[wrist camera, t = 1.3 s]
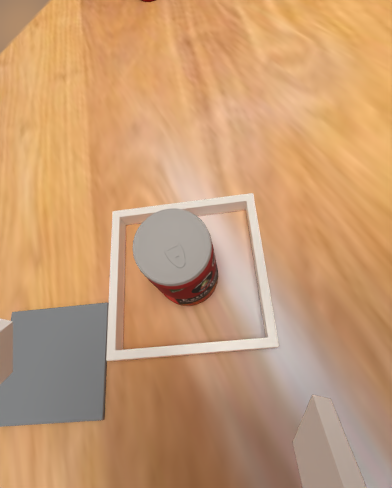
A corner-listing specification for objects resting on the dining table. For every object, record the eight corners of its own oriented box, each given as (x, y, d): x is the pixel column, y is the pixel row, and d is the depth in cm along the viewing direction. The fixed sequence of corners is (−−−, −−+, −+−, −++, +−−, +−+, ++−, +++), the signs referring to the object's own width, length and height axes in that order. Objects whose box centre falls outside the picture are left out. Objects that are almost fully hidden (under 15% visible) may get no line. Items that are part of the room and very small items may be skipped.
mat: (109, 303, 38) (107, 302, 38) (104, 419, 33) (102, 420, 33) (14, 312, 39) (12, 312, 39) (-4, 426, 34) (-8, 427, 34)
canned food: (187, 320, 36) (168, 302, 26) (147, 275, 39) (115, 243, 29) (231, 276, 38) (229, 243, 27) (189, 236, 40) (173, 193, 30)
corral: (252, 202, 41) (253, 193, 39) (276, 347, 34) (279, 346, 31) (119, 219, 43) (112, 211, 41) (114, 361, 35) (106, 360, 33)
